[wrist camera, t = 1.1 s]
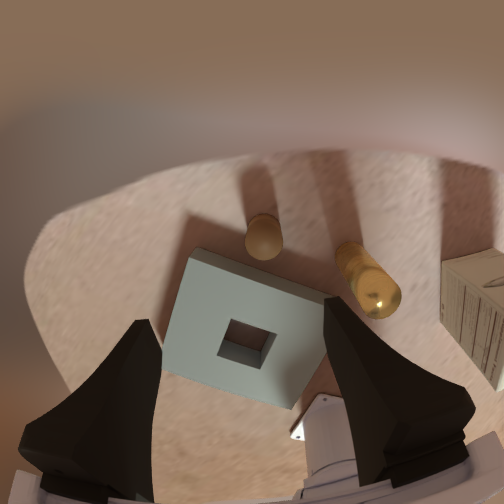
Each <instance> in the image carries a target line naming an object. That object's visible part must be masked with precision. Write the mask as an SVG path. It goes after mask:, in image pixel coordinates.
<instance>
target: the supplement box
mask: <svg viewBox="0 0 504 504" xmlns="http://www.w3.org/2000/svg"><path fill="white" fill-rule="evenodd" d="M440 323H441V324H442V325H443V326H444V327H445V328H446V330H447V331H448V332H449V333H450V335H451V336H452V337H453V338H454V339H455V340H456V342H457V343H458V344H459V345H460V347H461V348H462V349H463V350H464V351H465V353H466V354H467V355H468V356H469V358H470V359H471V360H472V361H473V362H474V364H475V365H476V366H477V368H478V369H479V370H480V371H481V373H482V374H483V375H484V377H485V378H486V379H487V380H488V382H489V383H490V384H491V386H492V387H493V389H494V390H495V392H500V391H502V390H504V253H502V252H500V251H498V250H496V249H494V248H491V249H488V250H485V251H482V252H478V253H475V254H471V255H467V256H463V257H459V258H455V259H450V260H445V261H442V265H441V309H440Z"/></svg>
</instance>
